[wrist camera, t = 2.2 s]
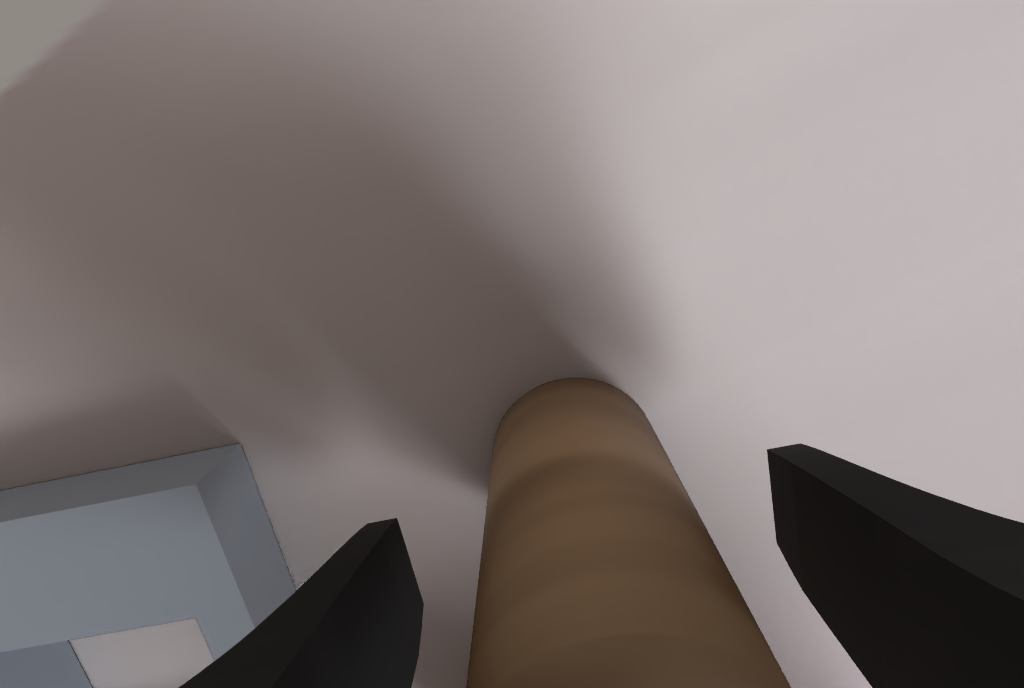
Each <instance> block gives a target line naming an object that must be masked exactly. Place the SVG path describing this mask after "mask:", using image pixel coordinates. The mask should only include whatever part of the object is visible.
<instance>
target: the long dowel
mask: <svg viewBox="0 0 1024 688" xmlns="http://www.w3.org/2000/svg"><path fill="white" fill-rule="evenodd" d="M466 688H791V687H790V685H789V683H788V681H787V679H786V677H785V675H784V674H783V672H782V670H781V668H780V666H779V664H778V662H777V660H776V659H775V657H774V655H773V653H772V651H771V649H770V647H769V645H768V644H767V642H766V640H765V638H764V636H763V634H762V632H761V630H760V629H759V627H758V625H757V623H756V621H755V619H754V617H753V615H752V614H751V612H750V610H749V608H748V606H747V604H746V602H745V600H744V599H743V597H742V595H741V593H740V591H739V589H738V587H737V585H736V584H735V582H734V580H733V578H732V576H731V574H730V572H729V570H728V568H727V567H726V565H725V563H724V561H723V559H722V557H721V555H720V553H719V552H718V550H717V548H716V546H715V544H714V542H713V540H712V538H711V537H710V535H709V533H708V531H707V529H706V527H705V525H704V523H703V522H702V520H701V518H700V516H699V514H698V512H697V510H696V508H695V507H694V505H693V503H692V501H691V499H690V497H689V495H688V493H687V492H686V490H685V488H684V486H683V484H682V482H681V480H680V478H679V477H678V475H677V473H676V471H675V469H674V467H673V465H672V463H671V462H670V460H669V458H668V456H667V454H666V452H665V450H664V448H663V447H662V445H661V443H660V441H659V439H658V437H657V435H656V433H655V432H654V430H653V428H652V426H651V424H650V422H649V420H648V419H647V417H646V415H645V413H644V412H643V411H642V409H641V408H640V407H639V405H638V404H637V403H636V402H635V401H634V400H633V399H632V398H631V397H629V396H628V395H627V394H625V393H624V392H622V391H621V390H619V389H617V388H615V387H613V386H611V385H609V384H606V383H604V382H600V381H596V380H592V379H584V378H568V379H560V380H556V381H552V382H548V383H545V384H543V385H540V386H538V387H536V388H534V389H532V390H531V391H529V392H527V393H526V394H525V395H523V396H522V397H521V398H519V399H518V400H517V401H516V402H515V403H514V404H513V405H512V406H511V408H510V409H509V410H508V411H507V413H506V414H505V416H504V417H503V419H502V421H501V422H500V425H499V427H498V429H497V432H496V436H495V440H494V446H493V455H492V464H491V473H490V482H489V491H488V500H487V509H486V518H485V527H484V535H483V544H482V553H481V562H480V571H479V580H478V589H477V598H476V607H475V616H474V625H473V634H472V643H471V651H470V660H469V669H468V678H467V687H466Z"/></svg>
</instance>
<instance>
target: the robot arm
mask: <svg viewBox="0 0 1024 688" xmlns="http://www.w3.org/2000/svg"><path fill="white" fill-rule="evenodd" d="M767 453H768V463H769V473H770V482H771V492H772V502H773V511H774V521H775V531H776V540H777V544H778V546H779V548H780V550H781V552H782V554H783V555H784V557H785V559H786V561H787V563H788V565H789V567H790V569H791V570H792V572H793V574H794V576H795V578H796V579H797V581H798V583H799V585H800V587H801V588H802V590H803V592H804V593H805V594H806V596H807V597H808V599H809V600H810V602H811V603H812V604H813V606H814V607H815V609H816V610H817V611H818V613H819V614H820V616H821V617H822V618H823V620H824V621H825V623H826V624H827V625H828V627H829V628H830V630H831V631H832V632H833V634H834V635H835V637H836V638H837V639H838V641H839V642H840V643H841V645H842V646H843V648H844V649H845V650H846V652H847V653H848V654H849V656H850V657H851V659H852V660H853V661H854V663H855V664H856V666H857V667H858V668H859V670H860V671H861V672H862V674H863V675H864V677H865V678H866V679H867V681H868V682H869V683H870V685H871V686H872V688H1024V523H1021V522H1018V521H1014V520H1010V519H1007V518H1003V517H1000V516H997V515H993V514H990V513H987V512H984V511H980V510H977V509H974V508H971V507H968V506H965V505H962V504H960V503H957V502H954V501H951V500H948V499H945V498H942V497H939V496H936V495H933V494H931V493H928V492H925V491H922V490H920V489H917V488H914V487H912V486H909V485H906V484H904V483H901V482H898V481H896V480H893V479H891V478H888V477H886V476H883V475H881V474H878V473H876V472H873V471H871V470H868V469H866V468H863V467H861V466H858V465H856V464H853V463H851V462H848V461H846V460H844V459H841V458H839V457H836V456H834V455H831V454H829V453H826V452H823V451H821V450H818V449H816V448H813V447H810V446H807V445H803V444H795V445H790V446H784V447H779V448H773V449H768V450H767ZM423 605H424V604H423V600H422V597H421V594H420V591H419V587H418V584H417V581H416V578H415V575H414V571H413V568H412V565H411V562H410V558H409V555H408V552H407V549H406V545H405V542H404V539H403V536H402V533H401V529H400V526H399V523H398V520H397V518H395V519H390V520H384V521H379V522H374V523H368V524H366V525H365V526H364V527H363V528H361V529H360V530H359V531H358V532H357V533H356V534H355V535H354V536H353V537H351V538H350V539H349V540H348V541H347V542H346V543H345V544H344V545H343V546H342V547H341V548H340V549H339V550H338V551H337V552H336V553H335V554H334V555H333V556H332V557H331V558H330V559H329V560H328V561H327V562H326V563H325V564H324V565H323V566H322V567H321V568H320V569H319V570H317V571H316V572H315V573H314V574H313V575H312V576H311V577H310V578H309V579H308V580H307V581H306V582H305V583H304V584H303V585H302V586H301V587H300V588H299V589H298V590H297V591H296V592H295V593H294V594H292V595H291V596H290V597H289V598H288V599H287V600H286V601H285V602H284V603H282V604H281V605H280V606H279V607H278V608H277V609H276V610H275V611H274V612H272V613H271V614H270V615H269V616H268V617H267V618H266V619H265V620H264V621H262V622H261V623H260V624H259V625H258V626H257V627H256V628H255V629H254V630H252V631H251V632H250V633H249V634H248V635H246V636H245V637H244V638H243V639H242V640H241V641H239V642H238V643H237V644H236V645H234V646H233V647H232V648H231V649H229V650H228V651H227V652H226V653H224V654H223V655H222V656H221V657H219V658H218V659H217V660H215V661H214V662H213V663H211V664H210V665H209V666H208V667H206V668H205V669H204V670H202V671H201V672H200V673H198V674H197V675H196V676H194V677H193V678H192V679H190V680H189V681H188V682H186V683H185V684H183V685H182V686H180V687H179V688H411V686H412V682H413V678H414V673H415V669H416V664H417V659H418V655H419V646H420V637H421V628H422V616H423Z"/></svg>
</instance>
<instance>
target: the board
mask: <svg viewBox="0 0 1024 688" xmlns="http://www.w3.org/2000/svg"><path fill="white" fill-rule="evenodd" d="M295 592H296V590H295V587H294V584H293V582H292V579H291V576H290V574H289V571H288V568H287V566H286V563H285V561H284V558H283V555H282V553H281V550H280V547H279V545H278V542H277V539H276V537H275V534H274V531H273V529H272V526H271V523H270V521H269V518H268V515H267V513H266V510H265V507H264V505H263V502H262V499H261V497H260V494H259V491H258V489H257V486H256V483H255V481H254V478H253V475H252V473H251V470H250V467H249V465H248V462H247V459H246V457H245V454H244V451H243V449H242V446H241V443H239V444H234V445H229V446H224V447H219V448H213V449H208V450H203V451H198V452H193V453H188V454H183V455H178V456H173V457H168V458H163V459H158V460H153V461H148V462H143V463H138V464H133V465H128V466H123V467H118V468H113V469H108V470H102V471H97V472H92V473H87V474H82V475H77V476H72V477H67V478H62V479H57V480H52V481H47V482H42V483H37V484H32V485H27V486H22V487H17V488H12V489H7V490H2V491H0V688H92V686H91V684H90V682H89V680H88V678H87V676H86V674H85V672H84V670H83V668H82V667H81V665H80V663H79V661H78V659H77V657H76V655H75V653H74V651H73V649H72V647H71V645H70V643H69V641H68V640H74V639H79V638H85V637H91V636H97V635H102V634H108V633H114V632H119V631H125V630H131V629H136V628H142V627H148V626H153V625H159V624H165V623H171V622H176V621H182V620H188V619H193V618H196V620H197V622H198V625H199V627H200V629H201V632H202V634H203V636H204V638H205V641H206V643H207V645H208V648H209V650H210V652H211V654H212V657H213V659H214V661H215V660H217V659H218V658H219V657H221V656H222V655H223V654H224V653H226V652H227V651H228V650H229V649H231V648H232V647H233V646H234V645H236V644H237V643H238V642H239V641H241V640H242V639H243V638H244V637H245V636H246V635H248V634H249V633H250V632H251V631H252V630H254V629H255V628H256V627H257V626H258V625H259V624H260V623H261V622H262V621H264V620H265V619H266V618H267V617H268V616H269V615H270V614H271V613H272V612H274V611H275V610H276V609H277V608H278V607H279V606H280V605H281V604H282V603H284V602H285V601H286V600H287V599H288V598H289V597H290V596H291V595H292V594H294V593H295Z"/></svg>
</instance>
